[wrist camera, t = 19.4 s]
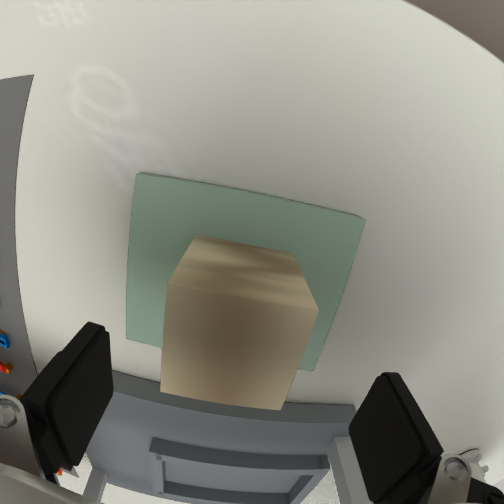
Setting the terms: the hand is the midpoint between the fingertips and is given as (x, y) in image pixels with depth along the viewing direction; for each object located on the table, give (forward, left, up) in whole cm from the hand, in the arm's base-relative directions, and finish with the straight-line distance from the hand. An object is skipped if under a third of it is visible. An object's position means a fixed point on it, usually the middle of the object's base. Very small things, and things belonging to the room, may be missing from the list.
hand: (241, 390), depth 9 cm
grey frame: (+1, +18, -8) cm, 19 cm away
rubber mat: (+1, 0, -8) cm, 8 cm away
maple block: (0, 0, -7) cm, 7 cm away
